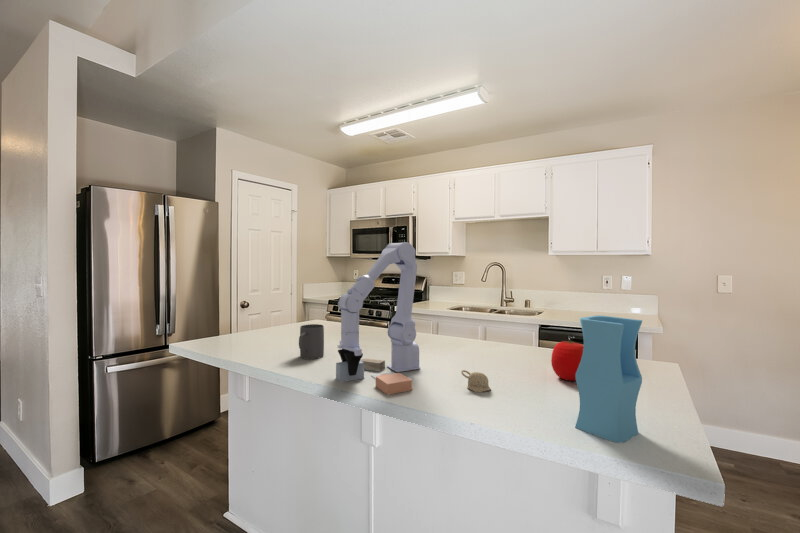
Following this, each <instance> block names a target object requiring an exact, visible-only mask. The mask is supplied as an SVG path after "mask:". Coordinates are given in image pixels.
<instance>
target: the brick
mask: <svg viewBox="0 0 800 533" xmlns="http://www.w3.org/2000/svg"><path fill="white" fill-rule="evenodd" d="M360 361H362V362H364V370H368V371H377V372H381V371H382V370H384V369H386V360H383V359H378V358H377V359H376V358H368V357H364V358H361V360H360Z"/></svg>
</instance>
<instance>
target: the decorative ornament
mask: <svg viewBox="0 0 800 533" xmlns="http://www.w3.org/2000/svg"><path fill="white" fill-rule="evenodd" d="M460 372H461V375H462V376H463V377H464V378H466V379H467V380H468V381H467V385H466V387H467V389H468V390H471V391H473V392H475V393H477V392H478V393H482V392H487V391H490V390H491V389H492V388H491V387H490V385H489V379H488V377H487V375H486V374H484V372H483V373H482V372H479V371H474V372H473V371H472V372H469V371H468V370H465V369H463V370H461V371H460ZM465 373H466V374H468V375H469V376H468V375H466V374H465Z"/></svg>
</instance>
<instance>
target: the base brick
mask: <svg viewBox="0 0 800 533" xmlns="http://www.w3.org/2000/svg"><path fill="white" fill-rule="evenodd" d="M375 387H376V388H377V389H379V390H380V391H382V392H383V393H385V394H386V395H392V394H398V393H403V392H409V391H412V390H413V379H411V378H410V377H408V376H405V375H404V374H402V373H401V372H394V374H388V375H382V376H376V379H375Z"/></svg>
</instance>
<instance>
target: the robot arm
mask: <svg viewBox="0 0 800 533" xmlns="http://www.w3.org/2000/svg"><path fill="white" fill-rule="evenodd" d="M416 251H417V250H416V249H415V248H414V246H413V245H412V244H411V243H409V242H408V241H407V242H406V241H405V242H391V243H390V242H389V243H388V244H386V246H385V248H384V249H383V250H382V251H381V254H380V255H379V257H378V258H377V260H376V261H375V263H373V265H372V267H371V268H370V269H369V271H368V272H366V274H364V275H360V276H357V277H356V279H355V283H354V284H352V286H351V287H350V288H348V289H347V290H346V291H347V292H346V293H344V294H342V295H341V296H340V297H339V301H338V302H337V306H338V309H340V311H341V313H340V322H341V323H340V331H341V332H340V340H339V345H337V349H338V350H337V353H338V354H339V356H340V359H341V362H346V361H347V364H348V372H349V375H350V376H352V375H356V373H357V369H358V365H359V362H360V360H362V359H363V355H364V354H363V353H362V350H363V349H362V348H361V345H360V310H361V309H362V308H363V306H364V301H365V299H367V297H368V296H369V294H370V292H372V291H373V289H374V288H375V285H376V284H375V283H376V282H375V281H376V280H377V279H378V278H379V277H380V275H382V274H383V272H384V271H385V270H386V269H387V268H388V267H389V266H390V265H393V264H395V265H396V266H397V268H398V269H399V270H400V278H399V286H398V295H397V300H396V310H395V315H394V316H393V317H391V321H390V324H389V326H388V327H387V336H388V337H389V338H390V343H391V360H390V361H391V364H387V365H386V367H387V368H388V369H391V370H393V371H394V372H395V373H401V372H408V371H413V370H420V369H421V366H420V347H419V345H418V343H417V342H415V340H416V337H417V331H416V330H417V329H416V321H415V320H414V318H413V317H412V313H413V304H414V298H415V296H414V295H415V288H416V279H417V272H418V265H417V264H418V263H417V261H416Z"/></svg>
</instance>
